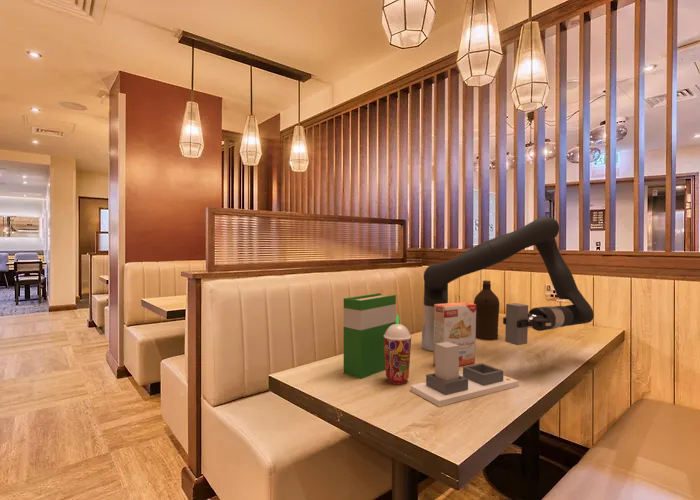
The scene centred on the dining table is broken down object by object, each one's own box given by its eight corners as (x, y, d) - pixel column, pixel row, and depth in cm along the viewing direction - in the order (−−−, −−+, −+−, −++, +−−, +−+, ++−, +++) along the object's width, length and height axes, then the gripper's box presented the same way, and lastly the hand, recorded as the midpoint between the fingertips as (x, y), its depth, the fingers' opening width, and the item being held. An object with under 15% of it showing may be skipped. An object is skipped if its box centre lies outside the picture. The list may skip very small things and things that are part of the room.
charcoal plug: (505, 341, 121) (506, 303, 121) (514, 340, 123) (515, 303, 123) (517, 345, 117) (518, 306, 117) (527, 343, 119) (528, 305, 119)
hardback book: (378, 361, 135) (378, 293, 135) (395, 365, 130) (395, 295, 130) (343, 373, 123) (343, 298, 122) (360, 379, 117) (360, 300, 117)
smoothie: (404, 388, 110) (404, 318, 110) (378, 382, 114) (378, 315, 114) (415, 379, 117) (415, 314, 117) (390, 374, 122) (391, 311, 121)
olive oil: (504, 340, 164) (504, 281, 164) (480, 341, 162) (481, 282, 162) (491, 334, 175) (491, 279, 174) (469, 335, 173) (469, 279, 172)
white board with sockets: (410, 390, 108) (410, 343, 108) (486, 373, 122) (486, 331, 122) (439, 406, 98) (439, 354, 97) (518, 385, 112) (518, 339, 112)
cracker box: (444, 369, 126) (444, 306, 126) (432, 364, 131) (432, 303, 131) (476, 364, 132) (477, 303, 132) (464, 359, 137) (464, 301, 137)
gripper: (527, 303, 133) (492, 306, 125) (567, 310, 120) (531, 314, 112) (526, 325, 133) (491, 329, 125) (566, 334, 121) (530, 340, 113)
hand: (510, 322), depth 119 cm, fingers closed on charcoal plug, 4 cm apart
